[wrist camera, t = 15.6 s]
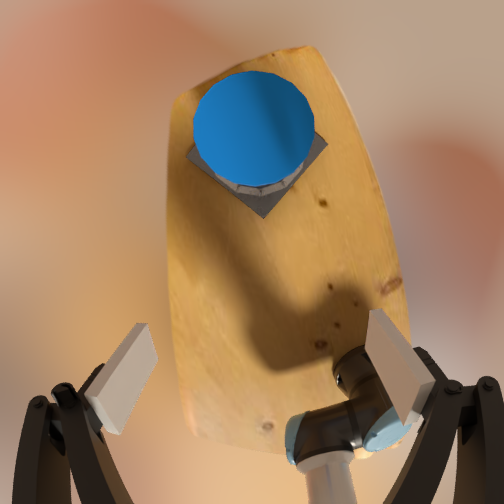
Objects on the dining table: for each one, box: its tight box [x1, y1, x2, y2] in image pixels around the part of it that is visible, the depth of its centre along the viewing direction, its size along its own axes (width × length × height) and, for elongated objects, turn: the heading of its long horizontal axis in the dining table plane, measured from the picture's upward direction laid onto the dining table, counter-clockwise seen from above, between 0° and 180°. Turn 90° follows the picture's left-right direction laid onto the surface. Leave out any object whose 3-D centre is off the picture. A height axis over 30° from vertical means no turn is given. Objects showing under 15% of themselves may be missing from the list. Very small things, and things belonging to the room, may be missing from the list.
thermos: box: [193, 71, 315, 187], centre depth 33 cm, size 11×11×25 cm
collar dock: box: [186, 133, 328, 219], centre depth 45 cm, size 18×18×2 cm
